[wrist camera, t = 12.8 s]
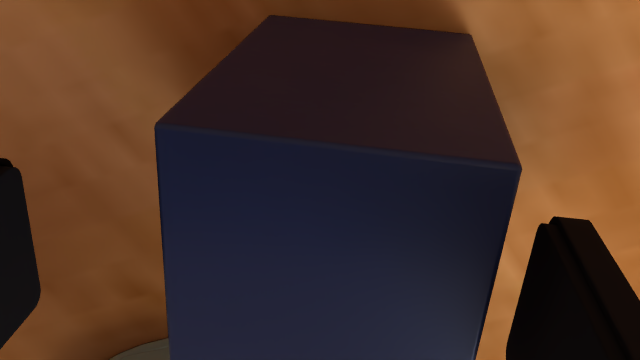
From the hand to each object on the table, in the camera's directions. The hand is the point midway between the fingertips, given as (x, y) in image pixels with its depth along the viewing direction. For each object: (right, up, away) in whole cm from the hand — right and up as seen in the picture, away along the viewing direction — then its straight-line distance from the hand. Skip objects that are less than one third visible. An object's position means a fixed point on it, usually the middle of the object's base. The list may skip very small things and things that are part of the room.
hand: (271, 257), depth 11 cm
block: (+2, +3, +5) cm, 6 cm away
